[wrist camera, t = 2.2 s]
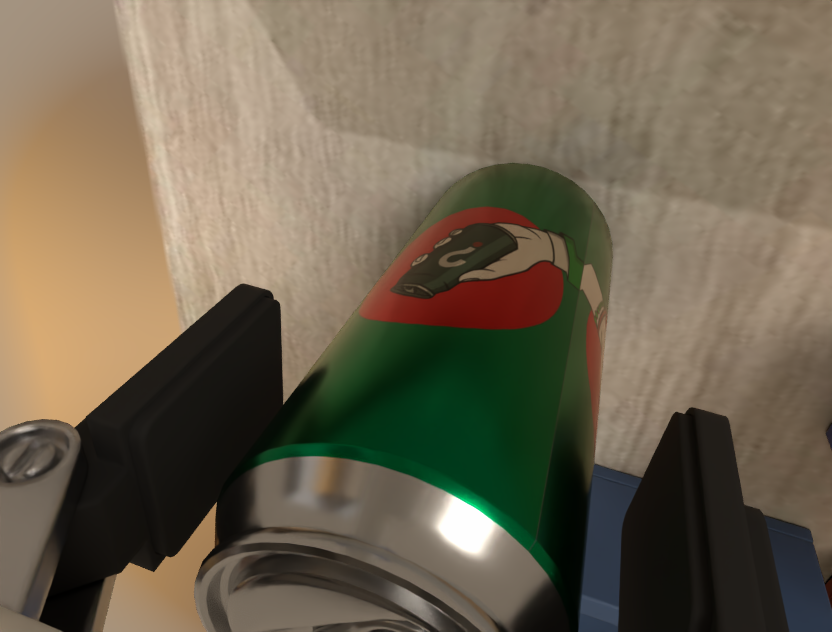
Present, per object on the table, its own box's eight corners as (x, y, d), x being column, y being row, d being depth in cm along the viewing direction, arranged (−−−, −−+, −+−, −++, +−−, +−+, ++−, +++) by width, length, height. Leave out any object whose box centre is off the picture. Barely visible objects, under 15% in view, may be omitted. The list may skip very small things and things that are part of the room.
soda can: (398, 225, 18) (101, 579, 8) (537, 114, 15) (338, 456, 5) (504, 348, 19) (357, 789, 9) (652, 267, 16) (668, 783, 6)
